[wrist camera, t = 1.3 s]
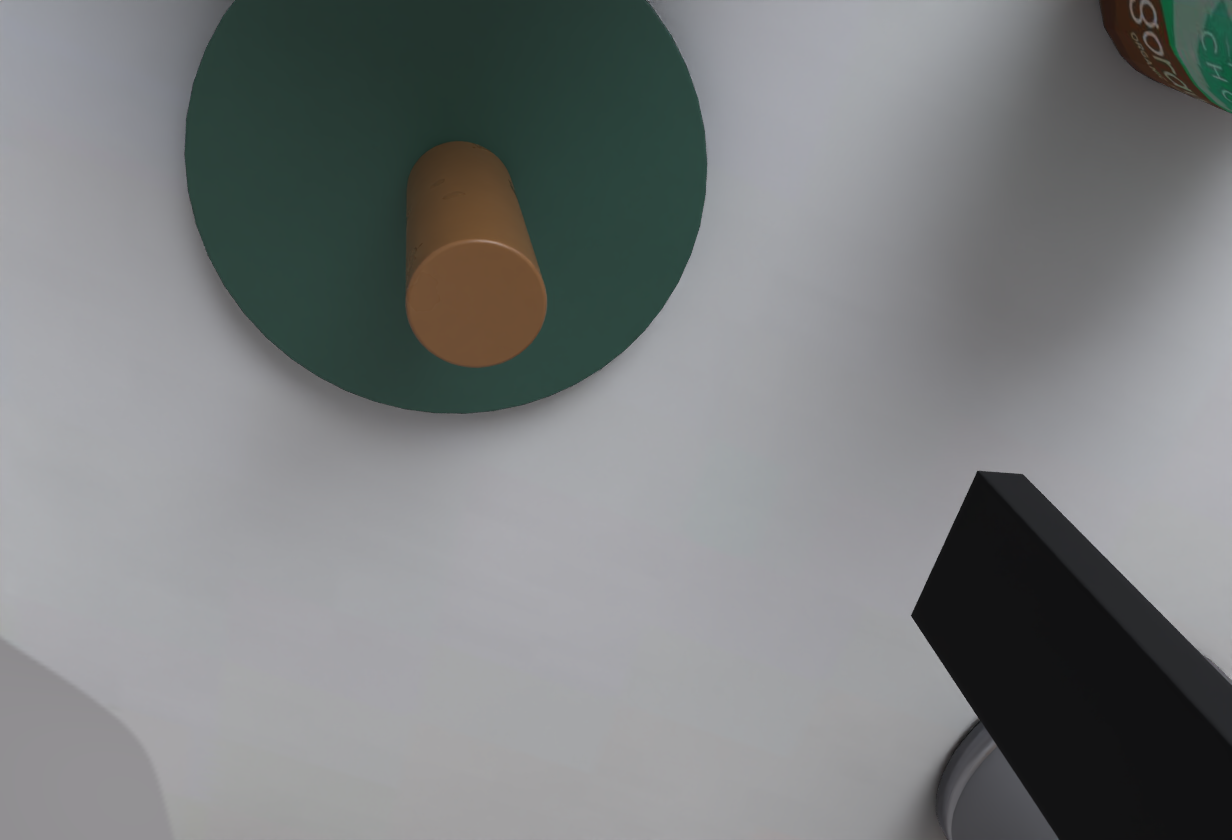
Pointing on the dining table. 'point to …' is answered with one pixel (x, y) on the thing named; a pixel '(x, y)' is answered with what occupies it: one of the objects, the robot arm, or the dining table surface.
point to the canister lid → (446, 188)
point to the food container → (1177, 43)
